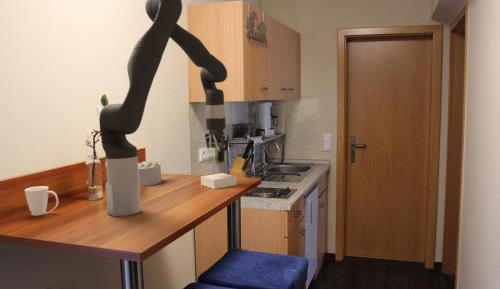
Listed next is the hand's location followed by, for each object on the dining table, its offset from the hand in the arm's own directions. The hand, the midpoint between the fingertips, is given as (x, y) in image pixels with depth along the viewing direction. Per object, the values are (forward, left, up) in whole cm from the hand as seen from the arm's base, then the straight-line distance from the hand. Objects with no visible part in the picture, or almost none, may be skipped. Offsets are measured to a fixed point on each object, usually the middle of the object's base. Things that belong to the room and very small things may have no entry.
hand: (217, 160), depth 174 cm
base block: (0, 0, -10) cm, 10 cm away
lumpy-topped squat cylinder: (-19, +26, -10) cm, 33 cm away
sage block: (0, 0, -1) cm, 1 cm away
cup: (-63, +2, -10) cm, 64 cm away
